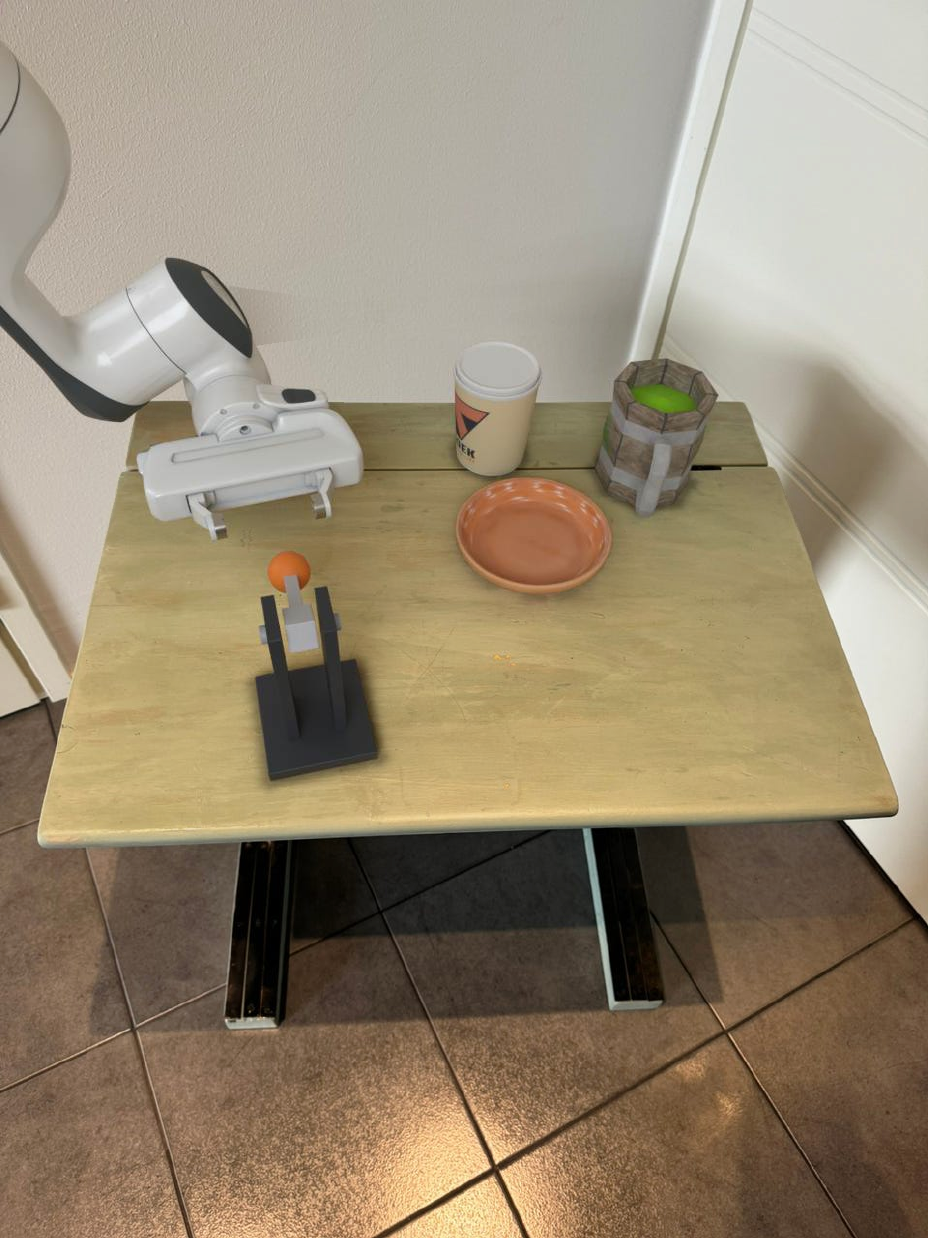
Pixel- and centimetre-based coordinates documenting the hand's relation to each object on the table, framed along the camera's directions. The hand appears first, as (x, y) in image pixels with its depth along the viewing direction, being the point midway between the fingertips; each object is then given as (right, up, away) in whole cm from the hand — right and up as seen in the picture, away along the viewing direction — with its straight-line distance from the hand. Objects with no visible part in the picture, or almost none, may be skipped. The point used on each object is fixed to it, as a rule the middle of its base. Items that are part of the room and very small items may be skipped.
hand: (272, 523), depth 75 cm
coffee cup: (+20, +10, +22) cm, 31 cm away
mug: (+37, +6, +19) cm, 42 cm away
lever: (+4, -8, -7) cm, 11 cm away
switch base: (+4, -17, -2) cm, 18 cm away
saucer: (+24, -1, +13) cm, 27 cm away
